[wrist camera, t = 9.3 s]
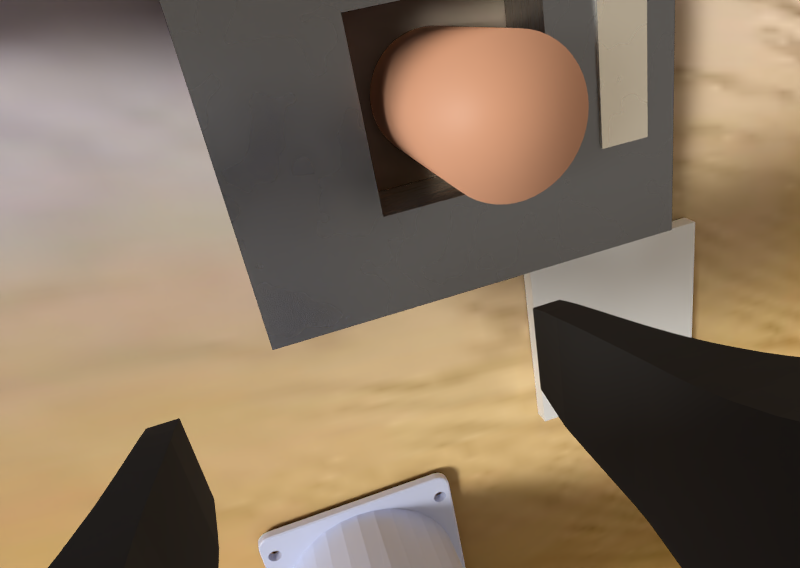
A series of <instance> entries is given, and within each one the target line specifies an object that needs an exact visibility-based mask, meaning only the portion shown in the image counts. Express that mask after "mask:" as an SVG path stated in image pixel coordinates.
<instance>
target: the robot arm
mask: <svg viewBox="0 0 800 568" xmlns="http://www.w3.org/2000/svg"><path fill="white" fill-rule="evenodd" d="M533 316H534V327H535V337H536V347H537V357H538V367H539V377H540V387H541V390H542V392H543V393H544V395H545V396H546V398H547V400H548V401H549V403H550V404H551V406H552V407H553V409H554V411H555V412H556V413H557V415H558V416H559V418H560V419H561V421H562V422H563V424H564V425H565V427H566V428H567V429H568V430H569V431H570V432H571V434H572V435H573V436H574V437H575V438H576V439H577V441H578V442H579V443H580V444H581V445H582V446H583V447H584V449H585V450H586V451H587V452H588V453H589V454H590V455H591V456H592V458H593V459H594V460H595V461H596V462H597V463H598V464H599V465H600V467H601V468H602V469H603V470H604V471H605V472H606V473H607V474H608V476H609V477H610V478H611V479H612V480H613V481H614V482H615V483H616V485H617V486H618V487H619V488H620V489H621V490H622V491H623V492H624V494H625V495H626V496H627V497H628V498H629V499H630V500H631V501H632V502H633V504H634V505H635V506H636V507H637V508H638V510H639V511H640V512H641V513H642V514H643V516H644V517H645V518H646V519H647V521H648V522H649V523H650V524H651V526H652V527H653V528H654V530H655V531H656V533H657V534H658V535H659V537H660V538H661V540H662V541H663V542H664V544H665V545H666V547H667V548H668V549H669V551H670V552H671V553H672V555H673V556H674V558H675V559H676V560H677V562H678V563H679V565H680V566H681V567H682V568H800V357H794V356H785V355H778V354H771V353H764V352H758V351H753V350H747V349H742V348H736V347H731V346H725V345H720V344H716V343H711V342H707V341H702V340H698V339H694V338H691V337H687V336H683V335H679V334H675V333H671V332H667V331H664V330H660V329H657V328H653V327H650V326H647V325H643V324H640V323H637V322H633V321H630V320H627V319H624V318H621V317H617V316H614V315H611V314H608V313H605V312H602V311H599V310H595V309H592V308H589V307H586V306H582V305H579V304H576V303H572V302H568V301H564V300H557V301H554V302H550V303H547V304H544V305H541V306H538V307H534V308H533ZM438 492H441V493H440V494H439V495H436V494H437V493H438ZM258 546H259V552H260V554H261V557H262V559H263V562H264V564H265V567H266V568H466V567H465V562H464V557H463V552H462V547H461V542H460V537H459V532H458V527H457V522H456V517H455V512H454V506H453V501H452V496H451V491H450V486H449V482H448V480H447V478H446V476H445V475H444V474H442V473H433V474H431V475H428V476H425V477H422V478H419V479H416V480H414V481H411V482H408V483H405V484H402V485H399V486H396V487H394V488H391V489H388V490H385V491H382V492H379V493H377V494H374V495H371V496H368V497H365V498H362V499H360V500H357V501H354V502H351V503H348V504H345V505H342V506H340V507H337V508H334V509H331V510H328V511H325V512H323V513H320V514H317V515H314V516H311V517H308V518H306V519H303V520H300V521H297V522H294V523H291V524H288V525H286V526H283V527H280V528H277V529H274V530H271V531H269V532H266V533H264V534H263V535H262V536H261V537H260V538H259V541H258ZM273 551H279V552H277V553H274V554H272V552H273ZM218 563H219V544H218V532H217V522H216V512H215V503H214V498H213V496H212V493H211V491H210V489H209V486H208V484H207V482H206V479H205V477H204V475H203V472H202V470H201V468H200V465H199V463H198V461H197V458H196V456H195V454H194V451H193V449H192V447H191V444H190V442H189V440H188V437H187V435H186V433H185V430H184V428H183V426H182V423H181V421H180V419H176V420H173V421H169V422H166V423H163V424H160V425H156V426H153V427H150V428H147V429H146V430H145V431H144V433H143V434H142V435H141V437H140V438H139V440H138V441H137V443H136V444H135V446H134V447H133V449H132V450H131V452H130V454H129V455H128V457H127V458H126V460H125V461H124V463H123V464H122V466H121V467H120V469H119V471H118V472H117V474H116V475H115V477H114V478H113V480H112V481H111V482H110V484H109V485H108V487H107V488H106V490H105V491H104V493H103V494H102V496H101V497H100V499H99V500H98V502H97V503H96V505H95V506H94V508H93V509H92V510H91V512H90V513H89V514H88V516H87V517H86V518H85V520H84V521H83V522H82V524H81V525H80V526H79V528H78V529H77V530H76V532H75V533H74V534H73V536H72V537H71V538H70V540H69V541H68V543H67V544H66V545H65V547H64V548H63V549H62V551H61V552H60V553H59V555H58V556H57V557H56V558H55V560H54V561H53V562H52V563H51V564H50V566H49V567H48V568H218Z"/></svg>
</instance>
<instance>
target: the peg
mask: <svg viewBox="0 0 800 568" xmlns="http://www.w3.org/2000/svg"><path fill="white" fill-rule="evenodd" d="M370 101H371V108H372V113H373V116H374V119H375V121H376V123H377V125H378V127H379V129H380V131H381V132H382V133H383V135H384V136H385V137H386V138H387V139H388V141H390V142H391V143H392V144H393V145H394V146H396V147H397V148H398V149H400V150H401V151H403V152H404V153H406V154H407V155H409V156H410V157H411V158H413V159H414V160H416V161H417V162H419V163H420V164H421V165H423V166H424V167H426V168H427V169H429V170H430V171H432V172H433V173H434V174H436V175H437V176H439V177H440V178H442V179H443V180H445V181H446V182H447V183H449V184H450V185H452V186H453V187H455V188H456V189H458V190H459V191H460V192H462V193H464V194H465V195H467V196H468V197H470V198H473V199H475V200H477V201H480V202H484V203H489V204H512V203H517V202H521V201H524V200H527V199H529V198H532V197H534V196H536V195H538V194H539V193H541V192H543V191H544V190H546V189H547V188H548V187H550V186H551V185H552V184H553V183H555V182H556V181H557V180H558V179H559V178H560V177H561V176H562V174H563V173H564V172H565V171H566V170H567V169H568V167H569V166H570V164H571V163H572V161H573V160H574V158H575V156H576V154H577V152H578V150H579V148H580V146H581V143H582V141H583V138H584V134H585V131H586V127H587V121H588V110H589V102H588V92H587V86H586V82H585V79H584V76H583V73H582V71H581V69H580V67H579V64H578V63H577V61H576V60H575V58H574V57H573V55H572V54H571V53H570V52H569V51H568V49H567V48H566V47H565V46H564V45H562V44H561V43H560V42H559V41H558V40H556V39H554V38H553V37H551V36H549V35H547V34H545V33H542V32H540V31H536V30H531V29H523V28H492V27H453V26H425V27H420V28H416V29H413V30H411V31H408V32H406V33H405V34H403V35H401V36H400V37H398V38H397V39H396V40H395V41H393V42H392V43H391V44H390V45H389V46H388V47H387V49H386V50H385V51H384V53H383V54H382V56H381V57H380V59H379V61H378V63H377V65H376V67H375V70H374V73H373V76H372V81H371V87H370Z"/></svg>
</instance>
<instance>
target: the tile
mask: <svg viewBox="0 0 800 568" xmlns="http://www.w3.org/2000/svg"><path fill="white" fill-rule="evenodd" d="M694 246H695V221H692V220H690V219H687V218H685V217H684V218H681V219H678V220H674V221H672V230H670V231H666V232H663V233H660V234H656V235H653V236H650V237H646V238H643V239H640V240H636V241H633V242H630V243H626V244H623V245H620V246H616V247H613V248H610V249H607V250H603V251H600V252H597V253H593V254H590V255H587V256H583V257H580V258H577V259H573V260H570V261H567V262H563V263H560V264H557V265H553V266H550V267H547V268H543V269H540V270H537V271H533V272H530V273H527V274H524V282H525V292H526V301H527V311H528V321H529V330H530V340H531V349H532V359H533V368H534V378H535V388H536V397H537V407H538V414H539V415H540V416H541V417H542V418H543V420H544V421H548V420H550V419H553V418H556V417H559V416H558V415H557V413H556V412H555V411H554V409H553V407H552V406H551V404H550V403H549V401H548V400H547V398H546V396H545V395H544V393H543V392H542V390H541V387H540V377H539V367H538V357H537V347H536V337H535V327H534V316H533V308H534V307H538V306H541V305H544V304H547V303H550V302H554V301H557V300H564V301H568V302H572V303H576V304H579V305H582V306H586V307H589V308H592V309H595V310H599V311H602V312H605V313H608V314H611V315H614V316H617V317H621V318H624V319H627V320H630V321H633V322H637V323H640V324H643V325H647V326H650V327H653V328H657V329H660V330H664V331H667V332H671V333H675V334H679V335H683V336H687V337H691V338H692V310H693V278H694Z"/></svg>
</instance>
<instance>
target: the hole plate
mask: <svg viewBox="0 0 800 568" xmlns="http://www.w3.org/2000/svg"><path fill="white" fill-rule="evenodd" d="M159 1H160V4H161V7H162V10H163V13H164V16H165V20H166V23H167V26H168V29H169V32H170V35H171V38H172V41H173V44H174V47H175V50H176V53H177V56H178V60H179V63H180V66H181V69H182V72H183V75H184V78H185V81H186V84H187V87H188V90H189V93H190V97H191V100H192V103H193V106H194V109H195V112H196V115H197V118H198V121H199V124H200V127H201V130H202V134H203V137H204V140H205V143H206V146H207V149H208V152H209V155H210V158H211V161H212V164H213V167H214V171H215V174H216V177H217V180H218V183H219V186H220V189H221V192H222V195H223V198H224V201H225V204H226V208H227V211H228V214H229V217H230V220H231V223H232V226H233V229H234V232H235V235H236V238H237V241H238V245H239V248H240V251H241V254H242V257H243V260H244V263H245V266H246V269H247V272H248V275H249V278H250V281H251V285H252V288H253V291H254V294H255V297H256V300H257V303H258V306H259V309H260V312H261V315H262V318H263V322H264V325H265V328H266V331H267V334H268V337H269V340H270V343H271V346H272V349H273V350H274V349H278V348H281V347H284V346H288V345H291V344H294V343H298V342H301V341H304V340H308V339H311V338H314V337H318V336H321V335H324V334H328V333H331V332H334V331H338V330H341V329H344V328H348V327H351V326H354V325H357V324H361V323H364V322H367V321H371V320H374V319H377V318H381V317H384V316H387V315H391V314H394V313H397V312H401V311H404V310H407V309H411V308H414V307H417V306H421V305H424V304H427V303H431V302H434V301H437V300H440V299H444V298H447V297H450V296H454V295H457V294H460V293H464V292H467V291H470V290H474V289H477V288H480V287H484V286H487V285H490V284H494V283H497V282H500V281H504V280H507V279H510V278H514V277H517V276H520V275H524V274H527V273H530V272H533V271H537V270H540V269H543V268H547V267H550V266H553V265H557V264H560V263H563V262H567V261H570V260H573V259H577V258H580V257H583V256H587V255H590V254H593V253H597V252H600V251H603V250H607V249H610V248H613V247H616V246H620V245H623V244H626V243H630V242H633V241H636V240H640V239H643V238H646V237H650V236H653V235H656V234H660V233H663V232H666V231H670V230H672V177H673V103H674V30H675V0H504V4H505V14H506V24H507V28H523V29H531V30H536V31H540V32H542V33H545V34H547V35H549V36H551V37H553V38H554V39H556V40H558V41H559V42H560V43H561V44H562V45H564V46H565V47H566V48H567V49H568V51H569V52H570V53H571V54H572V55H573V57H574V58H575V60H576V61H577V63H578V64H579V67H580V69H581V71H582V73H583V76H584V79H585V82H586V86H587V92H588V102H589V110H588V121H587V127H586V131H585V134H584V138H583V141H582V143H581V146H580V148H579V150H578V152H577V154H576V156H575V158H574V160H573V161H572V163H571V164H570V166H569V167H568V169H567V170H566V171H565V172H564V173H563V174H562V176H561V177H560V178H559V179H558V180H557V181H556V182H555V183H553V184H552V185H551V186H550V187H548V188H547V189H546V190H544V191H543V192H541V193H539V194H538V195H536V196H534V197H532V198H529V199H527V200H524V201H521V202H517V203H512V204H489V203H484V202H480V201H477V200H475V199H473V198H470V197H468V196H467V195H465V194H464V193H462V192H460V191H459V190H458V189H456V188H455V187H453V186H452V185H450V184H449V183H447V182H446V181H445V180H443V179H442V178H440V177H439V176H437V177H433V178H429V179H425V180H422V181H418V182H414V183H410V184H406V185H403V186H399V187H395V188H391V189H388V190H384V191H380V192H378V189H377V184H376V180H375V175H374V170H373V165H372V160H371V155H370V151H369V146H368V141H367V136H366V131H365V127H364V122H363V117H362V112H361V107H360V102H359V98H358V93H357V88H356V83H355V78H354V73H353V69H352V64H351V59H350V54H349V49H348V44H347V40H346V35H345V30H344V25H343V20H342V15H341V12H346V11H351V10H356V9H360V8H365V7H370V6H375V5H379V4H384V3H389V2H394V1H398V0H159Z"/></svg>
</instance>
